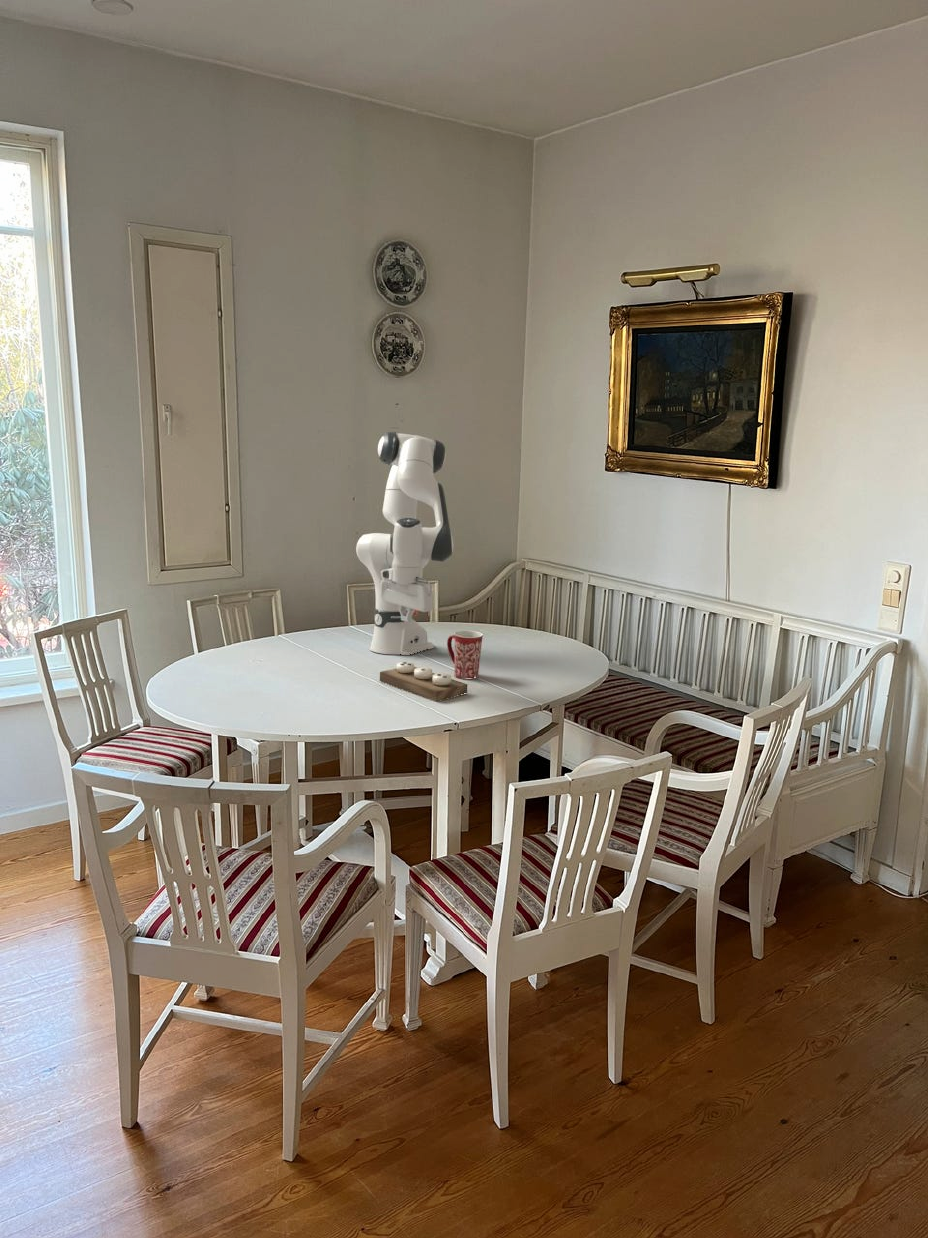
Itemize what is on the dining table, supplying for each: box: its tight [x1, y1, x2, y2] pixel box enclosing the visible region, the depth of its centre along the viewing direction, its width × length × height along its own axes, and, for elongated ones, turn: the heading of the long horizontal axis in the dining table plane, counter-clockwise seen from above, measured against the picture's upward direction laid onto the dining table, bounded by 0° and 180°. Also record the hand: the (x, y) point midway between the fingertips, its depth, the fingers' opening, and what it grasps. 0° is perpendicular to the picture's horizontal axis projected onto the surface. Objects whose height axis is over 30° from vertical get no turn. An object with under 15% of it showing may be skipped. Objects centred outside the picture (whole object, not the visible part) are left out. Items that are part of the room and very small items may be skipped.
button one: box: [414, 667, 433, 679], centre depth 274 cm, size 5×5×2 cm
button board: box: [379, 666, 469, 703], centre depth 275 cm, size 12×25×3 cm, turn 44°
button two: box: [432, 673, 452, 685], centre depth 269 cm, size 5×5×2 cm
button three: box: [396, 661, 415, 673], centre depth 280 cm, size 5×5×2 cm
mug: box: [446, 629, 484, 679], centre depth 289 cm, size 13×9×14 cm
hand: (406, 621), depth 277 cm, fingers closed
